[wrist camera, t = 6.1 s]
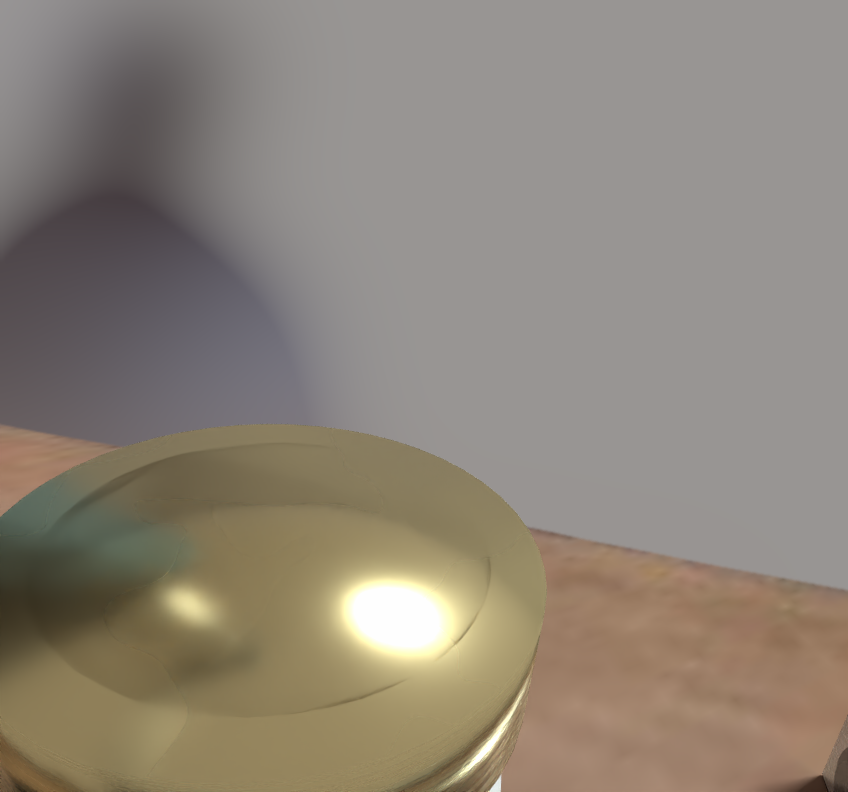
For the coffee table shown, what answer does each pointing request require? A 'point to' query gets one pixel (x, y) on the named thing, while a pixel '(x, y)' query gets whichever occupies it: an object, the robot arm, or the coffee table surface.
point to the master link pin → (264, 619)
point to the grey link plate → (838, 763)
